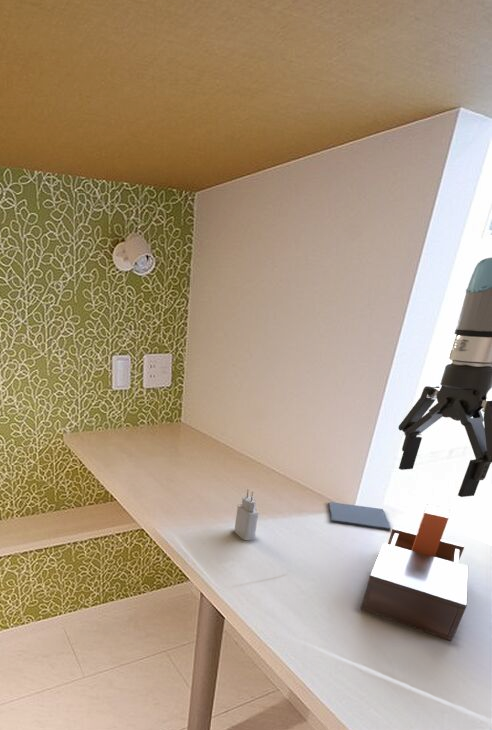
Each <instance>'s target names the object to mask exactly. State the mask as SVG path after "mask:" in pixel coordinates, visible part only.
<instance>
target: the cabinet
mask: <svg viewBox="0 0 492 730" xmlns="http://www.w3.org/2000/svg"><path fill="white" fill-rule="evenodd" d="M381 544H382V545H381V547H380V549H379V552H378V555H377V557H376V560H375V562H374V564H373V567H372V569H371V572H370V575H369V578H368V581H367V585H366V588H365V591H364V593H363V594H364V595H363V599H362V602H361V604H360V609H361V610H363V611H366V612H368V613H371V614H374V615H376V616H380V617H382V618H384V619H385V618H386V619H389V620H391V621H394V622H397V623H400V624H402V625H405V626H408V627H411V628H413V629H416V630H419V631H422V632H425V633H427V634H431V635H434V636H436V637H439V638H442V639H445V640H448V641H450V642H452V641H453V639H454V637H455V635H456V633H457V630H458V628H459V625H460V623H461V620H462V618H463V616H464V613H465V611H466V608H467V607H468V587H469V585H468V583H469V565H465V564H462V563H459V564H458V563H455V562H451V561H448V560H444V559H440V558H437V557H433V556H429V555H426V554H422V553H418V552H415V551H411V550H407V549H404V548H400V547H396V546H393V545H389V544H388V543H386V542H383V543H381Z"/></svg>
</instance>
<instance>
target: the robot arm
mask: <svg viewBox="0 0 492 730" xmlns="http://www.w3.org/2000/svg"><path fill="white" fill-rule="evenodd" d="M446 359H447V360H448V361H449V362H446V364H444V365H443V369H442V372H441V376H440V379H439V384H440V386H441V387H440V386H439V385H429V386H425V387H423V390H422V392H421V394H420V397H419V398H418V400H417V401H416V402H415V404H414V405H413V406H412V408H411V409H410V410H409V412H408V413H407V414H406V416H405V417H404V418H403V419H402V421H401V422H400V423H399V425H398V430H399V431H402V432H403V433H404V436H405V437H404V440H403V444H402V448H401V451H402V454H401V455H402V456H401V459H400V461H399V466H398V470H401V471H405V470H413V469H414V466H415V464H416V463H415V462H416V460H417V456H418V452H419V449H420V446H421V442H422V439H423V437H421V436H422V433H423V432H425V430H428V428H430V427H431V426H432V425H434V424H435V423H437V422H438V421H439V420H440V419H441V418H450V419H452V420H453V421H457V422H460V424H461V426H463V427H464V429H465V432H466V434H467V438H468V441H469V444H470V446H471V449H472V452H473V456H474V458H475V459H470V460H469V463H468V465H467V468H466V470H465V473H464V477H463V479H462V482H461V485H460V488H459V490H458V493H457V496H458V497H461V498H466V497H473V496H475V494H476V491H477V489H478V486H479V483H480V481H484V480H485V479H486V476H487V474H488V471H489V469H490V466H491V464H492V399H488V394H489V391H490V390H491V389H492V257H487V258H484V259H482V260H480V261H479V262H478V263H477V264H476V265H475V267H474V270H473V272H472V274H471V277H470V280H469V282H468V284H467V288H466V289H465V295H464V299H463V303H462V307H461V309H460V314H459V317H458V320H457V324H456V327H455V330H454V334H453V337H452V340H451V343H450V346H449V350H448V354H447V357H446ZM436 400H437V403H436V404H434V402H435V401H436ZM433 404H434V405H433ZM432 405H433V406H432ZM482 412H483V414H482Z"/></svg>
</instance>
